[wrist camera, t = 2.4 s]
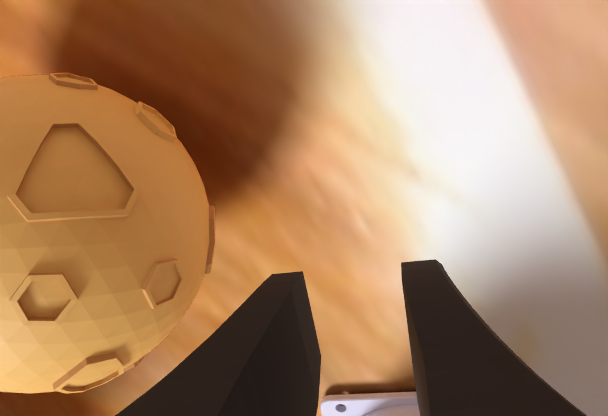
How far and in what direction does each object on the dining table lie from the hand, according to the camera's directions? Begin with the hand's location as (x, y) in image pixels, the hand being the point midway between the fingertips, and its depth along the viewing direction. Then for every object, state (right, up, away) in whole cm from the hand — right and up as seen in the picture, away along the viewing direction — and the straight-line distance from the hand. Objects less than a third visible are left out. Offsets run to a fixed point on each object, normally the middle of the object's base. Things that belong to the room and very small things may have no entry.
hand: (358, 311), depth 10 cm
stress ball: (-8, +3, +12) cm, 15 cm away
